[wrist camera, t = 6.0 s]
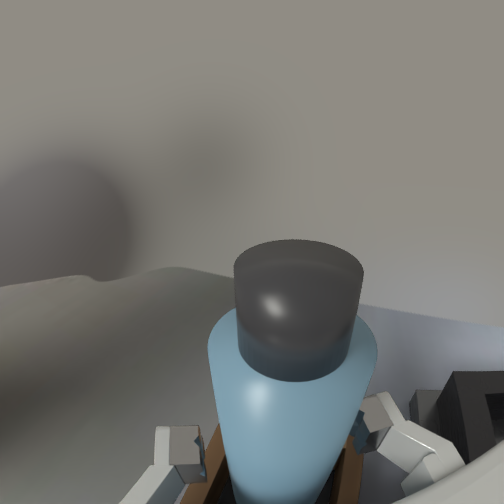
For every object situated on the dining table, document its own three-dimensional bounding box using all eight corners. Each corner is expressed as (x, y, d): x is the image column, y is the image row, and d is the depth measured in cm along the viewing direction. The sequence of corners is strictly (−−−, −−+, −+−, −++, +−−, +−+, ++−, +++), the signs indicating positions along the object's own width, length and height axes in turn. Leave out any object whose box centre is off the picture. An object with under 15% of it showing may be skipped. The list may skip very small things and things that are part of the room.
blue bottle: (227, 524, 11) (158, 305, 5) (249, 469, 15) (236, 223, 8) (301, 539, 10) (411, 342, 4) (316, 481, 14) (386, 238, 7)
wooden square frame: (179, 540, 10) (165, 530, 9) (227, 436, 17) (224, 411, 16) (330, 572, 8) (344, 568, 7) (353, 457, 15) (365, 434, 14)
